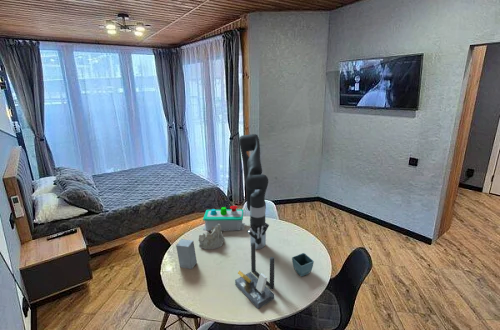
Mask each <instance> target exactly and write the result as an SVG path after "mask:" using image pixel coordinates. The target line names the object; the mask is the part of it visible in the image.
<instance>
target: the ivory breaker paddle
mask: <svg viewBox="0 0 500 330" xmlns="http://www.w3.org/2000/svg"><path fill="white" fill-rule="evenodd" d="M259 274H260V275H259V276H258V278H257V279H258V282H257V286H256V289H257V290H258V291H259V292H260V293H261V292H263V291H264V288H265V286H266V285H267V284H266V281H268V276H266V275H265V274H264V272H263V273H259Z"/></svg>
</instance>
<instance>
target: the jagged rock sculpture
mask: <svg viewBox="0 0 500 330" xmlns="http://www.w3.org/2000/svg"><path fill="white" fill-rule="evenodd" d="M224 241H225V237H224V235H223V232H222V231H221V226H220V224H218V226H215V227H212V231H211V233H210V232H209V231H208V230H206V232H205V233H202V234H199V235H198V243H199V244H198V247H199V248H201V249H205V250H214V249H219V248H221V246H222V245H223V244H224Z"/></svg>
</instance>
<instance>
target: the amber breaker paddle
mask: <svg viewBox="0 0 500 330" xmlns="http://www.w3.org/2000/svg"><path fill="white" fill-rule="evenodd" d="M237 274H238V276H240V277H242V278H243V279H245V280H246V281H247V282H249V283H250V282H251V281H252V280H250V279H249V278H248V277H247V276H246V274H245V273H243V272H242V271H241V270H239V271H238V272H237Z"/></svg>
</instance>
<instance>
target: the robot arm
mask: <svg viewBox="0 0 500 330" xmlns="http://www.w3.org/2000/svg"><path fill="white" fill-rule="evenodd" d="M238 141H239V148H240V154H241V158H242V165H243V167H242V168H243V176H244V182H245V183H244V184H245V192H246V193H245V194H246V209H247V211H249V217H250V218H249V224H250V226H249V227H250V228H249V229H248V230H246V233H247V234H249V236H250V237H249V238H250V239H249V240H250V242H249V243H250V245H251V243H255V250H261V249H263V248H264V247H265V246H266V243H267V242H266V241H267V239H266V238H267V237H266V236H267V235H266V234H267V233H266V232H267V230H268V228H269V227H270V224H269V223H268V222H266V210H267V209H266V208H267V207H266V205H267V202H266V200H265V199H266V192H267V190H268V186H269V178H268V176H267V175H265V174H262V173H263V167H262V163H261V162H262V161H261V148H260V147H261V144H260V139H259V135H258V134H255V133H250V134H244V135H240V136H239V140H238ZM248 152H252V153H251V154H250V155H248ZM256 190H257V191H256Z"/></svg>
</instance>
